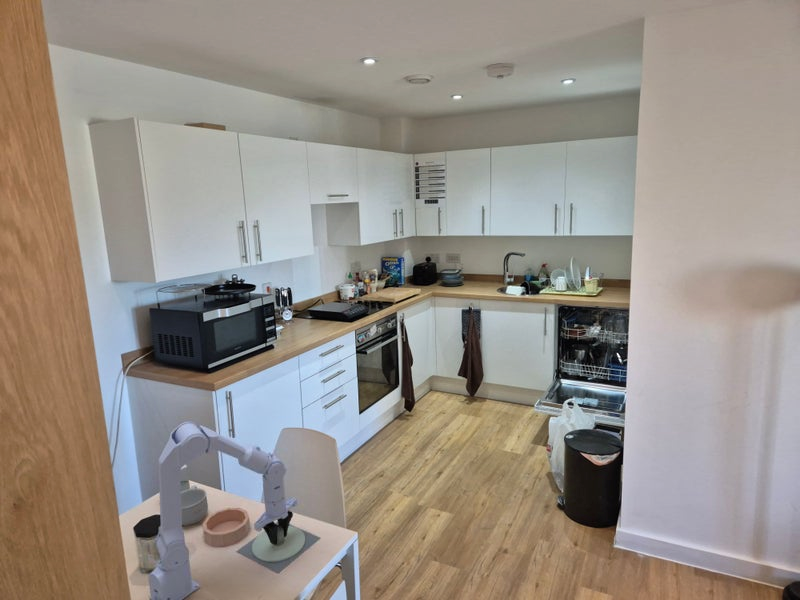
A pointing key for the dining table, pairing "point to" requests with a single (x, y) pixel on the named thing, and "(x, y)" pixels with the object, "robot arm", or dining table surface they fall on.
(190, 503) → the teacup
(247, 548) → the mat
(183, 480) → the supplement box
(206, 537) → the bowl
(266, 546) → the cover
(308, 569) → the dining table surface
